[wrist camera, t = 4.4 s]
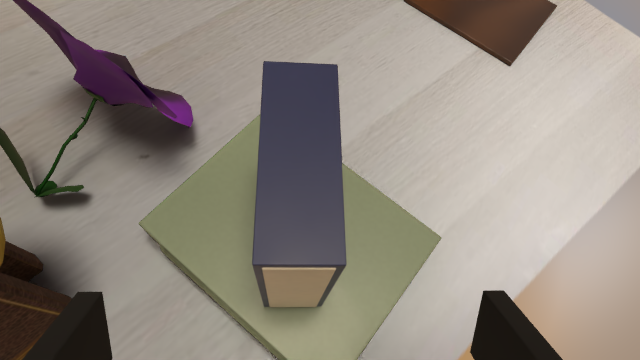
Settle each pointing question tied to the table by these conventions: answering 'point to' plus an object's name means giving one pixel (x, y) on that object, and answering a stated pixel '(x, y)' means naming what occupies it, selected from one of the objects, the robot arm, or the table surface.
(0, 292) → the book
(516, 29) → the placemat
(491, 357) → the robot arm
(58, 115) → the table surface
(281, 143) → the small book
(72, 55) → the flower
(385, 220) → the green rectangular slab
